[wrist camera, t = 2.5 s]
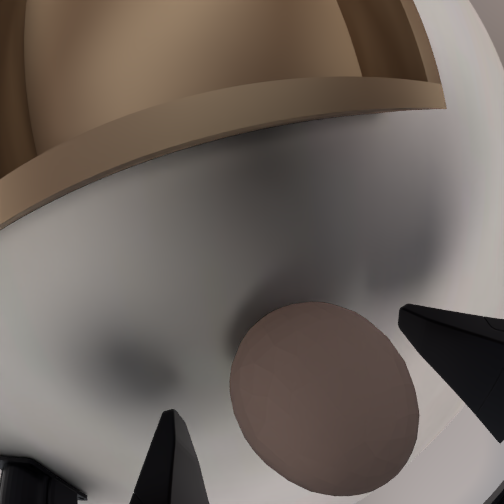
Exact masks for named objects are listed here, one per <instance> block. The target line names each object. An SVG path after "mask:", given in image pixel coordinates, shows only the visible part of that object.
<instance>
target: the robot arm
mask: <svg viewBox="0 0 504 504" xmlns="http://www.w3.org/2000/svg"><path fill="white" fill-rule="evenodd" d="M398 326H399V328H400V330H401V331H402V332H403V334H404V335H405V336H406V337H407V339H408V340H409V341H410V343H411V344H412V345H413V346H414V348H415V349H416V350H417V352H418V353H419V354H420V355H421V356H422V357H423V358H424V359H425V360H426V361H427V362H428V364H429V365H430V366H431V367H432V368H433V369H434V370H435V371H436V372H437V373H438V374H439V375H440V376H441V377H442V378H443V379H444V380H445V382H446V383H447V384H448V385H449V386H450V387H451V388H452V389H453V390H454V391H455V392H456V394H457V395H458V396H459V397H460V398H461V399H462V400H463V401H464V402H465V404H466V405H467V406H468V407H469V408H470V409H471V410H472V411H473V413H474V414H476V416H477V417H478V418H479V420H480V421H481V422H482V423H483V424H484V425H485V427H486V428H487V429H488V430H489V431H490V433H491V434H492V435H493V436H494V437H495V439H496V440H497V441H498V442H499V443H501V442H502V441H503V440H504V319H497V318H490V317H483V316H477V315H471V314H465V313H459V312H453V311H448V310H442V309H436V308H430V307H425V306H419V305H413V304H406V305H404V306H403V307H401V308H400V310H399V318H398ZM0 469H1V470H2V473H1V478H0V504H77V500H85V501H86V500H87V495H86V494H84V493H82V492H80V491H79V490H77V489H75V488H74V487H72V486H71V485H69V484H67V483H66V482H64V481H63V480H61V479H60V478H58V477H57V476H55V475H54V474H52V473H51V472H50V471H48V470H47V469H45V468H44V467H43V466H41V465H40V464H39V463H37V462H36V461H34V460H32V459H29V458H15V457H4V456H0ZM129 504H209V501H208V497H207V493H206V489H205V485H204V481H203V477H202V473H201V469H200V465H199V461H198V458H197V455H196V452H195V450H194V447H193V444H192V441H191V438H190V435H189V432H188V429H187V426H186V423H185V422H184V420H183V419H182V418H181V416H180V415H179V414H178V413H177V411H176V410H174V409H171V410H167V411H164V412H163V413H162V415H161V418H160V421H159V423H158V426H157V429H156V431H155V434H154V437H153V439H152V442H151V445H150V448H149V450H148V453H147V456H146V459H145V461H144V464H143V467H142V470H141V472H140V475H139V478H138V481H137V484H136V487H135V489H134V493H133V495H132V498H131V501H130V503H129ZM483 504H504V481H503V482H502V483H501V485H500V486H499V487H498V488H497V489H496V490H495V491H494V492H493V494H492V495H491V496H490V497H489V498H488V499H487V500H486V501H485V502H484V503H483Z"/></svg>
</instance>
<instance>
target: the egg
mask: <svg viewBox="0 0 504 504" xmlns="http://www.w3.org/2000/svg"><path fill="white" fill-rule="evenodd" d="M230 396H231V401H232V406H233V411H234V414H235V417H236V419H237V421H238V424H239V426H240V428H241V431H242V433H243V435H244V437H245V439H246V440H247V442H248V443H249V444H250V446H251V447H252V449H253V450H254V451H255V452H256V454H257V455H258V456H259V457H260V458H261V459H262V460H263V461H264V462H265V463H266V464H267V465H268V466H269V467H271V468H272V469H273V470H275V471H276V472H277V473H279V474H280V475H281V476H283V477H284V478H286V479H287V480H288V481H290V482H292V483H294V484H296V485H298V486H300V487H302V488H304V489H307V490H309V491H311V492H316V493H321V494H326V495H331V496H353V495H360V494H364V493H368V492H371V491H374V490H375V489H377V488H379V487H381V486H383V485H385V484H386V483H388V482H389V481H390V480H391V479H393V478H394V477H395V476H396V475H397V474H398V473H399V472H400V471H401V469H402V468H403V467H404V465H405V464H406V463H407V461H408V459H409V457H410V455H411V454H412V451H413V449H414V446H415V443H416V440H417V433H418V424H419V409H418V403H417V397H416V392H415V388H414V385H413V382H412V379H411V377H410V374H409V371H408V369H407V366H406V364H405V361H404V360H403V358H402V357H401V356H400V354H399V353H398V351H397V350H396V348H395V347H394V346H393V344H392V343H391V341H390V340H389V339H388V337H387V336H386V335H384V334H383V333H382V332H381V331H380V330H379V329H378V328H376V327H375V326H374V325H373V324H372V323H371V322H369V321H368V320H367V319H365V318H364V317H362V316H361V315H359V314H358V313H356V312H354V311H351V310H348V309H345V308H342V307H339V306H336V305H333V304H329V303H324V302H305V303H297V304H291V305H288V306H285V307H282V308H279V309H277V310H275V311H272V312H271V313H269V314H267V315H266V316H264V317H263V318H262V319H261V320H259V321H258V322H257V323H256V324H255V325H254V326H253V327H252V328H251V329H250V330H249V331H248V332H247V334H246V335H245V337H244V338H243V340H242V341H241V343H240V345H239V348H238V350H237V353H236V355H235V358H234V361H233V363H232V367H231V374H230Z"/></svg>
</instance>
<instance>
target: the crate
mask: <svg viewBox="0 0 504 504" xmlns="http://www.w3.org/2000/svg"><path fill="white" fill-rule="evenodd" d="M423 109H447V108H446V103H445V98H444V93H443V89H442V84H441V80H440V76H439V72H438V69H437V65H436V61H435V58H434V55H433V52H432V48H431V45H430V42H429V39H428V36H427V34H426V31H425V28H424V26H423V23H422V20H421V18H420V15H419V13H418V11H417V8H416V6H415V4H414V1H413V0H0V230H1V229H3V228H5V227H6V226H8V225H10V224H11V223H13V222H15V221H16V220H18V219H20V218H22V217H23V216H25V215H27V214H29V213H31V212H33V211H34V210H36V209H38V208H40V207H42V206H44V205H46V204H48V203H50V202H52V201H54V200H56V199H58V198H60V197H62V196H64V195H66V194H68V193H70V192H72V191H74V190H77V189H79V188H81V187H83V186H85V185H88V184H90V183H92V182H95V181H97V180H99V179H102V178H104V177H106V176H109V175H111V174H114V173H116V172H119V171H122V170H124V169H127V168H129V167H132V166H135V165H137V164H140V163H143V162H146V161H149V160H152V159H154V158H157V157H160V156H163V155H166V154H170V153H173V152H176V151H179V150H182V149H186V148H189V147H192V146H196V145H199V144H203V143H206V142H210V141H214V140H218V139H222V138H225V137H230V136H234V135H238V134H242V133H246V132H251V131H255V130H260V129H265V128H270V127H275V126H280V125H286V124H292V123H298V122H304V121H310V120H317V119H324V118H332V117H341V116H350V115H360V114H373V113H383V112H394V111H406V110H423Z"/></svg>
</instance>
